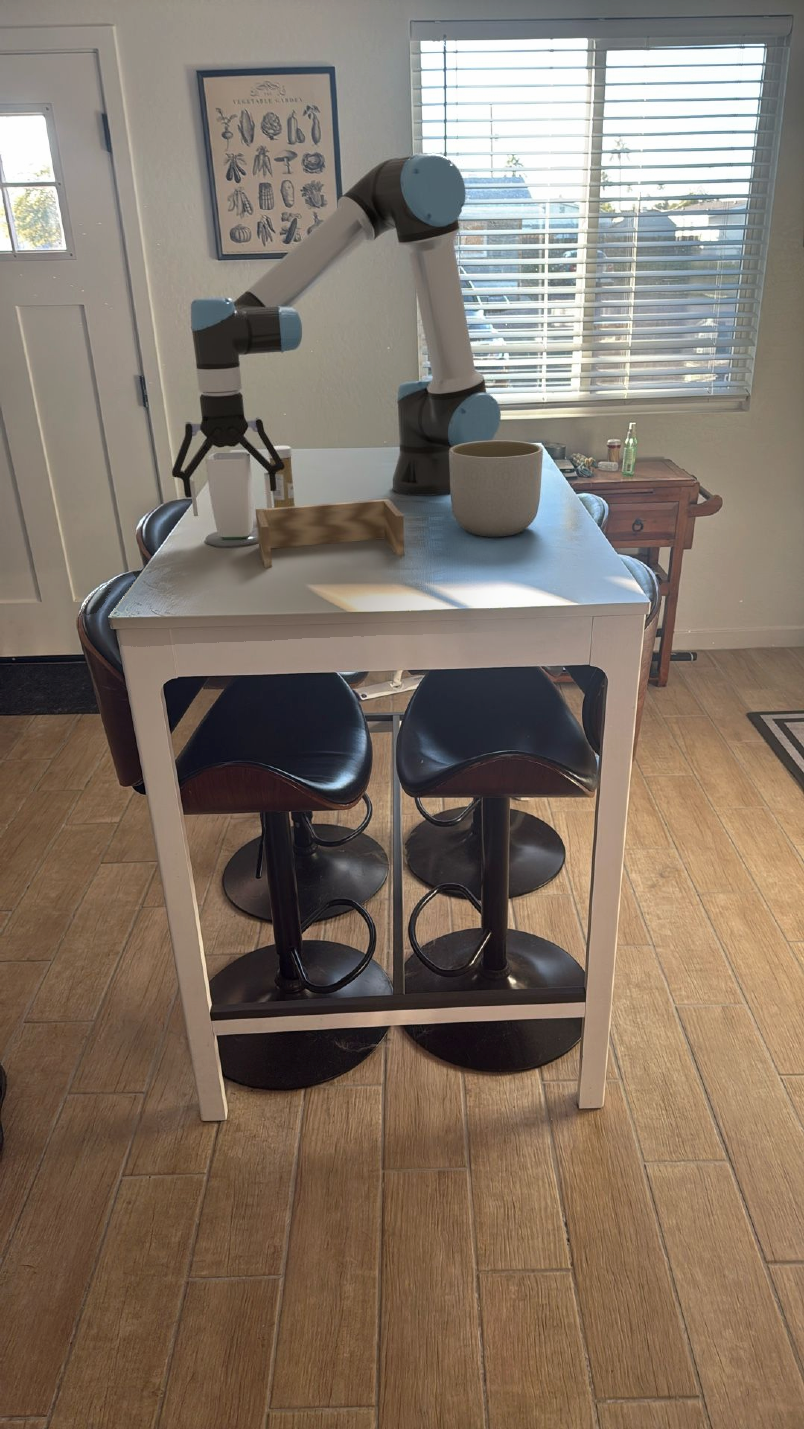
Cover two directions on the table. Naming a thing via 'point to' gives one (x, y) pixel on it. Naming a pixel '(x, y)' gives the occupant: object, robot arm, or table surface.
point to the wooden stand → (329, 525)
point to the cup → (231, 493)
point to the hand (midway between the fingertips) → (232, 511)
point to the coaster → (232, 540)
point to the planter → (495, 486)
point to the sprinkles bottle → (283, 479)
